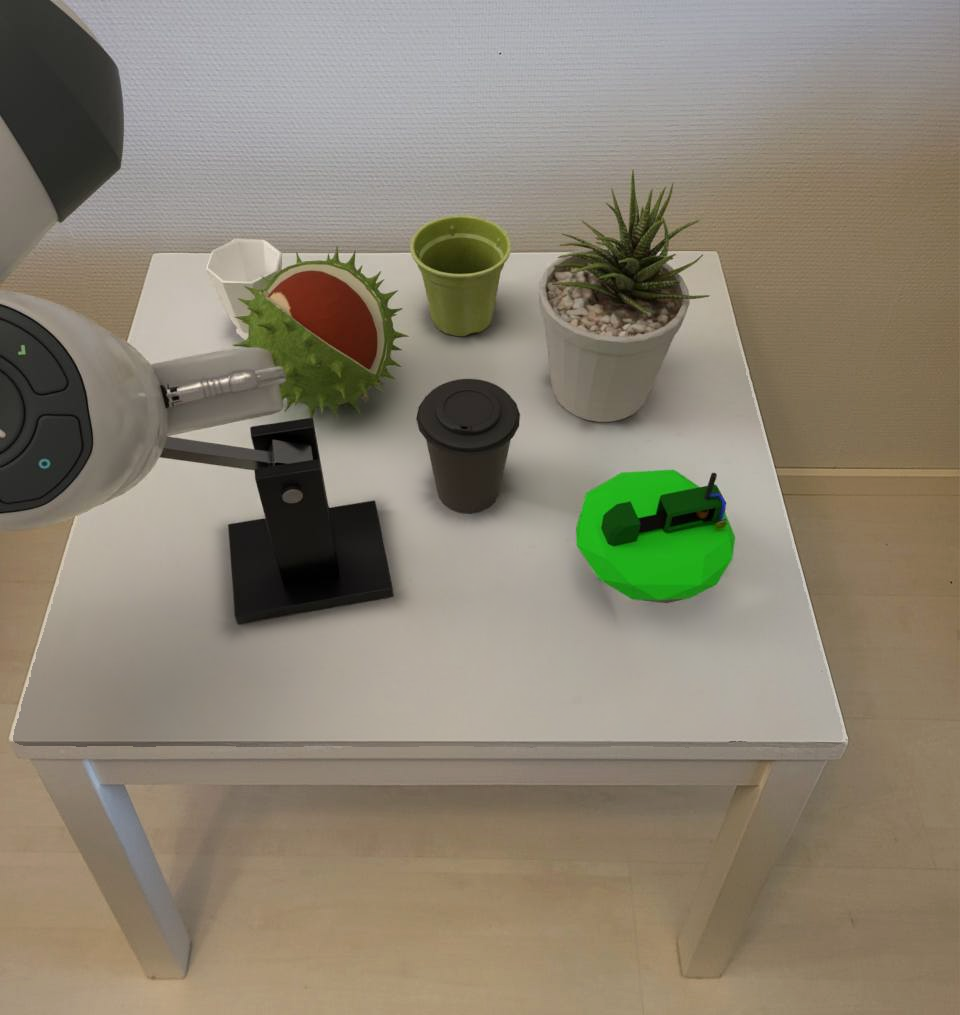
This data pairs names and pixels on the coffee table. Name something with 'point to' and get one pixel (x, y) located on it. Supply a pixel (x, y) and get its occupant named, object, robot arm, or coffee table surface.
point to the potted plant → (613, 315)
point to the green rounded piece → (656, 535)
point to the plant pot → (461, 270)
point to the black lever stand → (303, 540)
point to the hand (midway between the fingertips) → (113, 417)
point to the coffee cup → (468, 441)
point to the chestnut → (324, 331)
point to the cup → (242, 274)
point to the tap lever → (235, 453)
